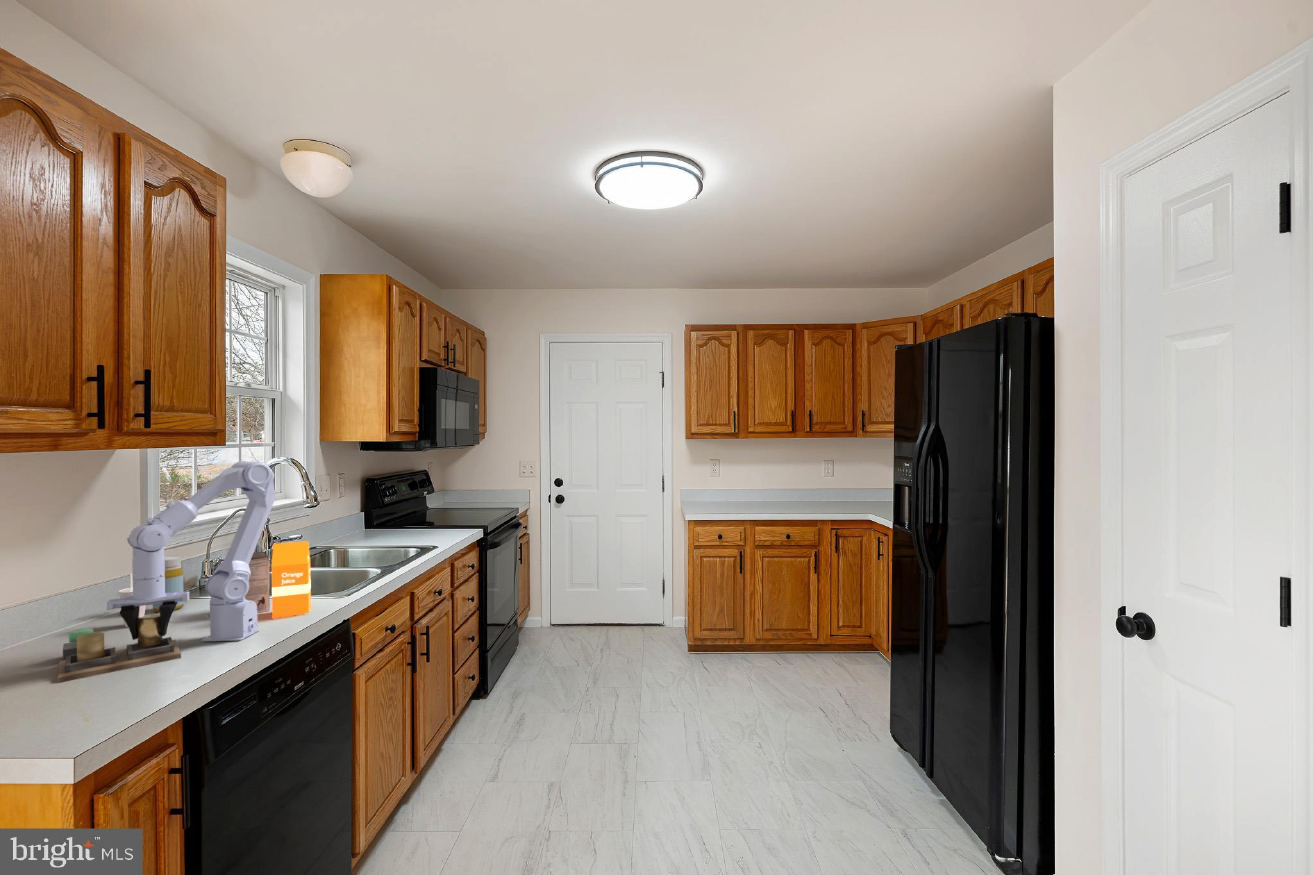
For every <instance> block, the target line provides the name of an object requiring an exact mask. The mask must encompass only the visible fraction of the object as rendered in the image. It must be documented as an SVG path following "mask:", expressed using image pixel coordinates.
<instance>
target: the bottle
mask: <svg viewBox="0 0 1313 875" xmlns="http://www.w3.org/2000/svg"><path fill="white" fill-rule="evenodd" d="M174 592H184V572H183V570H182V557H181V556H179V555H176V556H175V555H174V556H173V555H172V556H171V555H170V556H165V593H174ZM156 602H157V601H156ZM184 603H185V602H178V603H177V605H176V607H175V609H174V611H173V612H175V611H177V610H181V609H182V608H183V607H184ZM161 605H162V604H154V605H152V610H153V611H154V612H155V613H159V612H160V611H159V607H160V606H161Z"/></svg>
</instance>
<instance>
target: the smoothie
mask: <svg viewBox="0 0 1313 875" xmlns="http://www.w3.org/2000/svg"><path fill="white" fill-rule="evenodd" d="M117 595H118V596H119V598H126V597H132V596H133V572H130V573H129V587H126V588H123V589H120V590H118V591H117ZM146 606H147V605H144V606H140V609H139V618H140V617H143V616H145V612H146ZM123 622H124V626H125V628H129V627H128V625H127V623H126V622H125V620H124V619H123Z"/></svg>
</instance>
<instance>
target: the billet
mask: <svg viewBox="0 0 1313 875" xmlns="http://www.w3.org/2000/svg"><path fill="white" fill-rule="evenodd" d="M160 627H161V619H160V614H151V615H150V614H149V615H144V616H143V617H140V618H138V619H137V632H138V638H137V643H138V646H140V647H144V646H151V645H156V644H159V643H161V642H162V638H163V636H161V635H160Z"/></svg>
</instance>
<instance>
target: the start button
mask: <svg viewBox="0 0 1313 875" xmlns="http://www.w3.org/2000/svg"><path fill="white" fill-rule="evenodd" d="M89 633H94V629H93V628H84V629H77V630H73V631H70V632H69V633H68V640H69V641H68V643H70V642H77V637H78V636H81V635H84V634H89Z"/></svg>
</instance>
